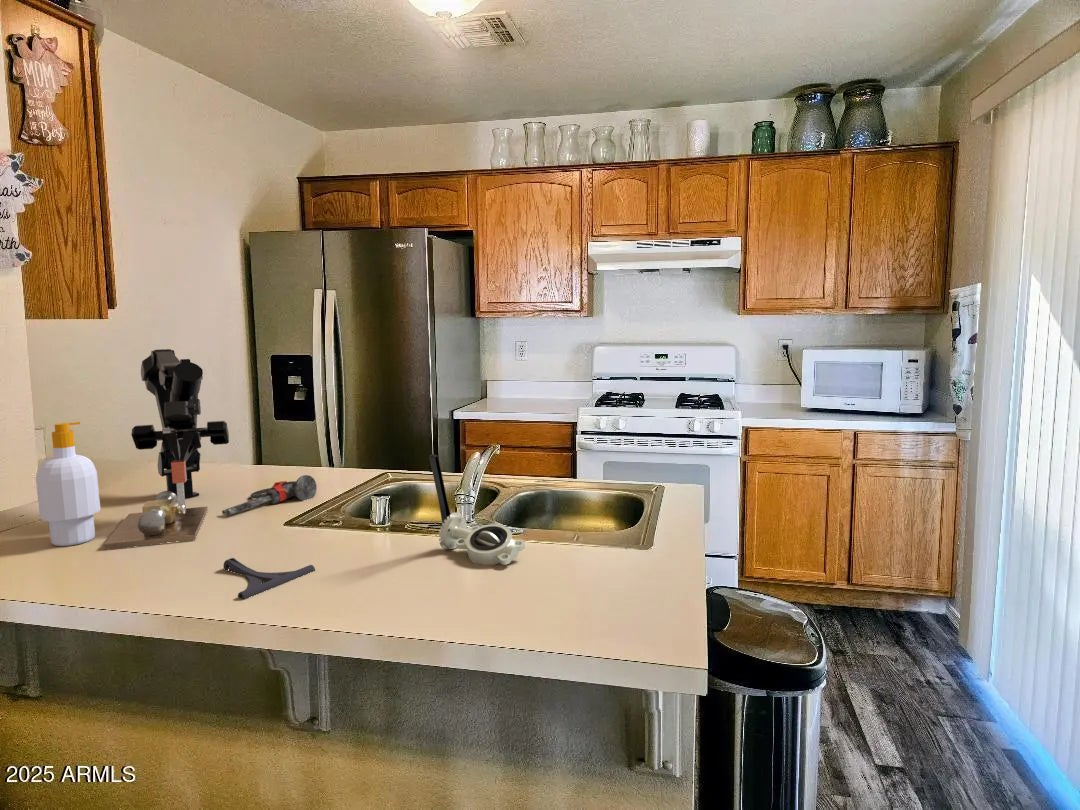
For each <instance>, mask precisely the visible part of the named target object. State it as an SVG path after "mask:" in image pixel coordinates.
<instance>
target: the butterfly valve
mask: <svg viewBox="0 0 1080 810" xmlns="http://www.w3.org/2000/svg"><path fill="white" fill-rule="evenodd" d="M428 457H429V462H430V466H431V467H430V468H431V471H432V475H433V482H434V486H435V492H436V495H437V500H438V506H439V511H440V516H441V517H440V518H441V525H442V526H440V530H439V534H438V541H439V545H440V547H441V548H442V549H443V550H445V551H448V550H450V549H452V550H454V549H459V550H466V551H467V556H468V558H469V560H470V561H471V562H472V563H473V564H477V565H483V566H486V565H487V566H494V565H497V564H500V565H503V566H504V565H508V564H510V563H512V560H515V559H516V558H517V557H518V556H519V552H522V551H523V550H525V548H526V546H525V541H524V540H522V539H513V533H512V531H511V529H510V528H509V527H507V526H504V525H501V524H495V523H493V524H491V523H490V524H485V525H482V526H479V525H473V526H471V527H470V528H469V529H468V528H467V527H468V525H467V521H466V519H465V518H464V517H462V514H461V513H460V512H451V510H450V509H451V508H450V506H449V502H448V497H447V493H446V487H445V482H444V478H443V473H442V468H441V464H440V457H439V455H437V454H433V453H432V454H430V455H429V456H428Z"/></svg>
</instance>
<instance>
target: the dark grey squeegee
mask: <svg viewBox="0 0 1080 810" xmlns="http://www.w3.org/2000/svg"><path fill="white" fill-rule="evenodd" d="M229 567H230V568H229ZM224 569H225V570H224ZM228 569H229V571H228V572H230V571H232V572H231V573H233V572H235V573H234V574H237V573H238V575H240V574H242V575H241V576H243V575H245V576H244V577H245V578H246V579H247V580H248V582H249V583H248V586H247V587H246V588H245V589H244V590H242V591H240V592H238V594H237V598H238V597H239V598H238V599H241V598H242V600H243V599H244V600H248V599H249V597H250V598H252V597H255V596H257V595H260V594H262V593H264V591H265V592H267V591H269V590H272V589H274V588H277V587H279V586H281V585H285V584H286V583H289V582H291V580H292V581H293V580H296V578H297V579H299V578H302V577H304V576H306V575H309V574H311V573H314V572H316V567H315V566H314V565H313V564H309V565H307V566H304V567H302V568H299V569H296V570H291V571H280V572H279V571H278V572H265V571H257V570H254V569H253V568H250V567H249V566H246V565H245V564H244V563H242V562H240V561H238V560H237V559H236V558H235V557H230V558H228V559H226V560H225V561H224V562H223V570H224V571H226V570H228ZM313 571H314V572H313ZM310 572H311V573H310ZM308 573H309V574H308ZM303 575H304V576H303ZM298 577H299V578H298ZM263 582H264V583H263ZM261 583H262V584H261ZM271 588H272V589H271ZM266 590H267V591H266ZM259 593H260V594H259ZM256 594H257V595H256ZM254 595H255V596H254ZM242 596H243V597H242ZM251 596H252V597H251ZM240 597H241V598H240Z"/></svg>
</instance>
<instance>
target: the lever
mask: <svg viewBox="0 0 1080 810" xmlns="http://www.w3.org/2000/svg"><path fill="white" fill-rule="evenodd" d="M171 468H172V481H173V483H176V485H177V497H178V505H177V507H178V513H179V514H186V508H187V505H186V498H185V494H184V483H185V482H186V481H187V474H186V462H185V460H173V461H172V462H171Z"/></svg>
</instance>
